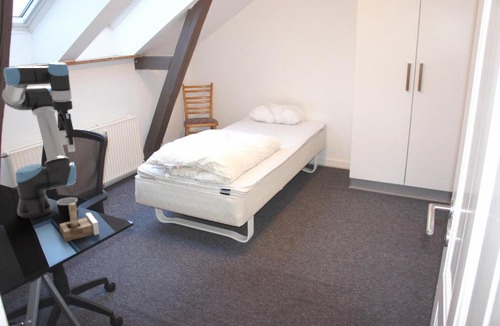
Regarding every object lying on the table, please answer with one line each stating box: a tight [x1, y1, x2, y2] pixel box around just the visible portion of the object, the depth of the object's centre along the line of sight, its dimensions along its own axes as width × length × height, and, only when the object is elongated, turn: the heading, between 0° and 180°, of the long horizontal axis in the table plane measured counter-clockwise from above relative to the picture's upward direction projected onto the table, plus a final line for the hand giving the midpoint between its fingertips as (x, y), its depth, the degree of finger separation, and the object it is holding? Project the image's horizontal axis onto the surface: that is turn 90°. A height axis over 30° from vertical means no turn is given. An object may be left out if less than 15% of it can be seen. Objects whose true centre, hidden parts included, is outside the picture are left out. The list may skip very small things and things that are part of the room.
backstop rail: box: [85, 212, 100, 236], centre depth 179 cm, size 12×2×6 cm, turn 36°
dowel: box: [69, 203, 79, 228], centre depth 173 cm, size 3×3×14 cm
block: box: [59, 217, 94, 242], centre depth 175 cm, size 9×11×4 cm
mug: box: [56, 196, 79, 223], centre depth 187 cm, size 12×9×10 cm
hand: (68, 148), depth 174 cm, fingers open, 13 cm apart
